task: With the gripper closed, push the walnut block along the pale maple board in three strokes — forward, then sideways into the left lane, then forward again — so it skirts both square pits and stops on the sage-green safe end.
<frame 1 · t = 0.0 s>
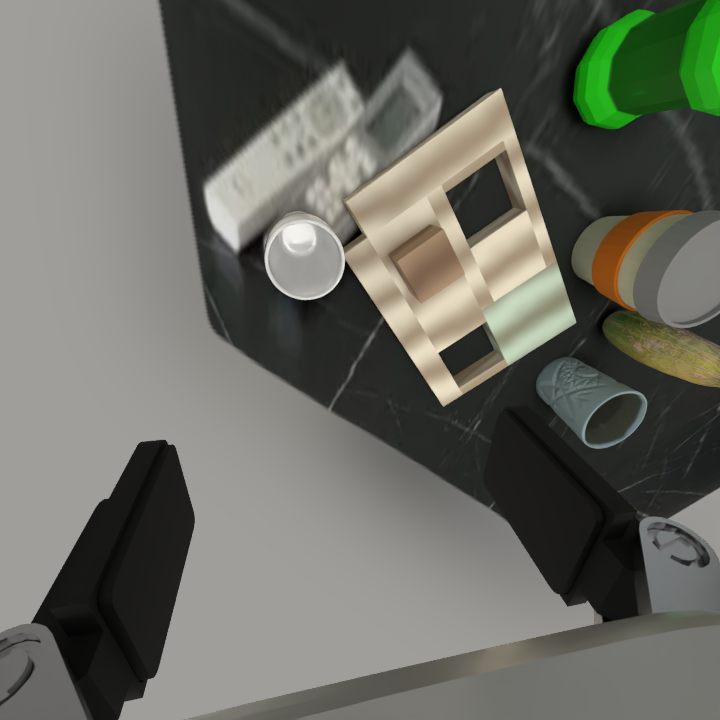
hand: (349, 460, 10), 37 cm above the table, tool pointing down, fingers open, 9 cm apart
vegetable: (603, 319, 57), on the table
block: (420, 260, 43), point 3 cm above the table, touching board
drinking glass: (557, 378, 61), on the table
board: (463, 286, 49), on the table
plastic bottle: (594, 82, 41), on the table
drinking glass 2: (298, 234, 42), on the table
reusable coffee cup: (599, 249, 51), on the table
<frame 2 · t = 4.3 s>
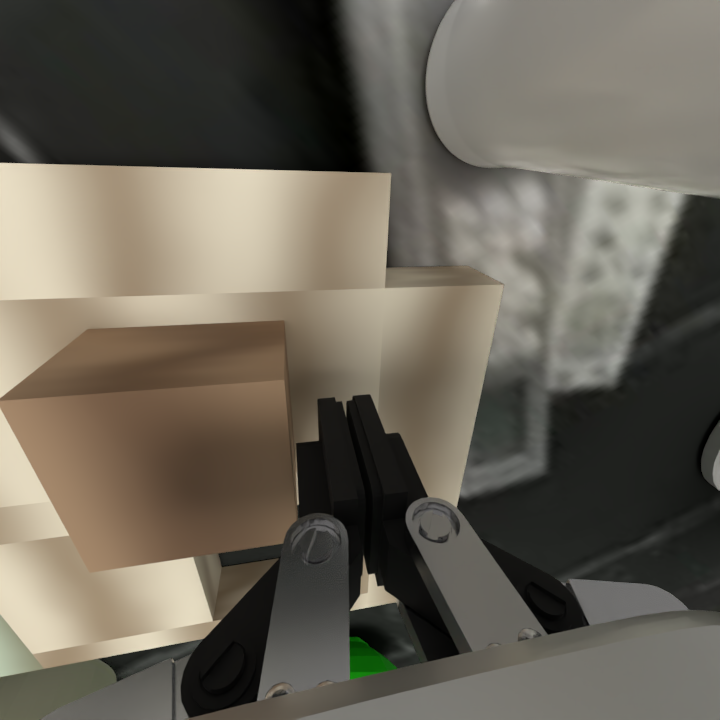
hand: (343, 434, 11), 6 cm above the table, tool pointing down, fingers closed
block: (206, 401, 13), point 3 cm above the table, touching board, gripper
board: (59, 451, 16), on the table
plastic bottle: (336, 651, 29), on the table
drinking glass 2: (488, 83, 13), on the table
reusable coffee cup: (43, 682, 24), on the table
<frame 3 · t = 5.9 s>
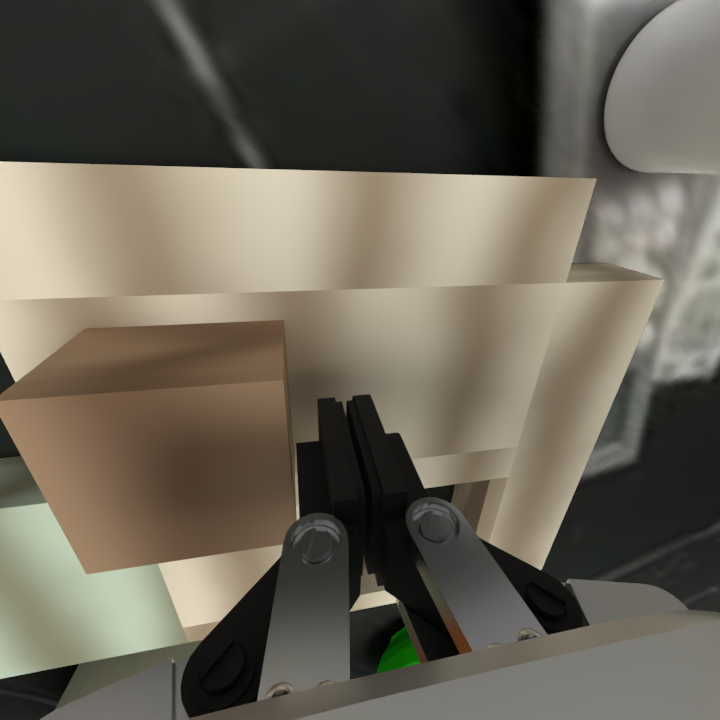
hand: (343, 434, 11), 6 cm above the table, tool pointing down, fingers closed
block: (205, 401, 13), point 3 cm above the table, touching board, gripper
board: (221, 436, 17), on the table
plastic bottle: (417, 634, 30), on the table
drinking glass 2: (653, 96, 14), on the table
reusable coffee cup: (153, 661, 25), on the table
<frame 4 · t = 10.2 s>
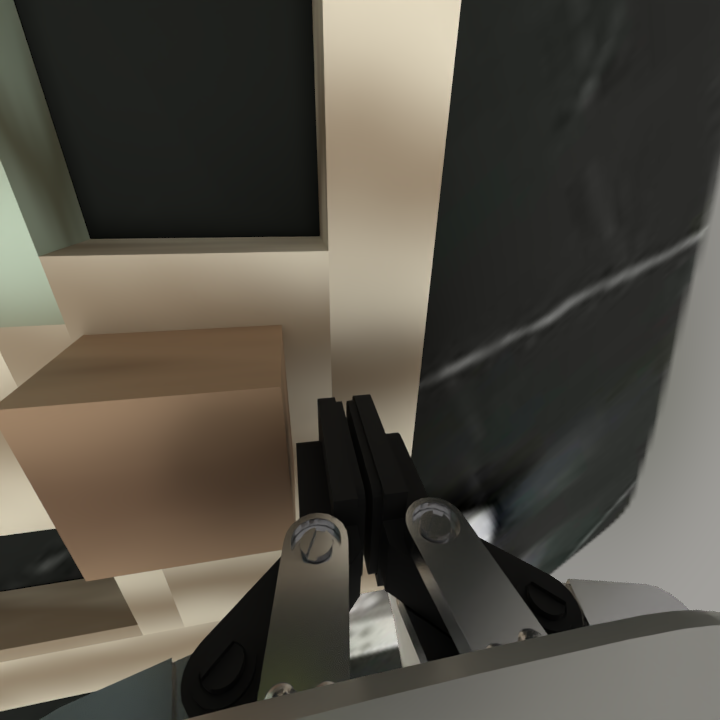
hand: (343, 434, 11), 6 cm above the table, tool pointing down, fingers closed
block: (204, 406, 13), point 3 cm above the table, touching board, gripper
board: (130, 365, 15), on the table
drinking glass 2: (419, 569, 26), on the table
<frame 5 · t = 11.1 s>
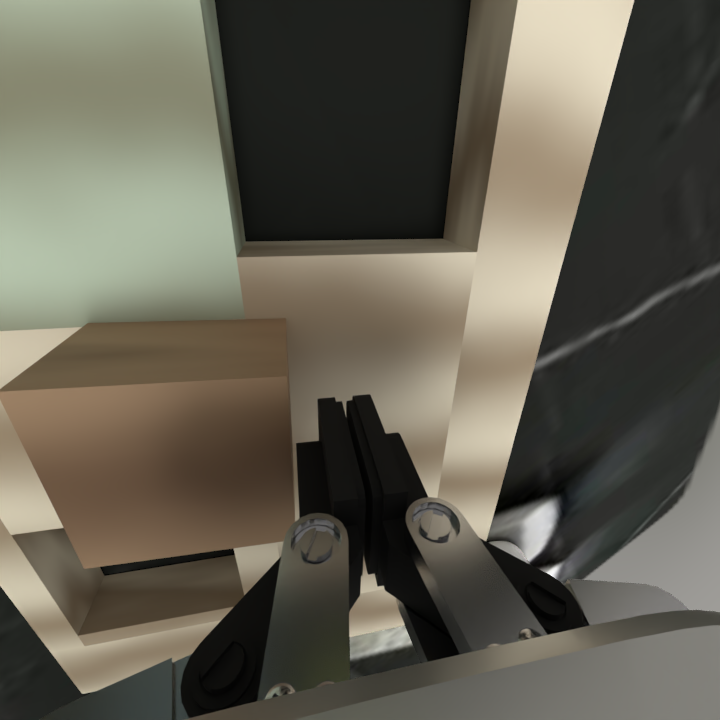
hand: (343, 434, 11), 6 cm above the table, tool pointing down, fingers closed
block: (205, 398, 13), point 3 cm above the table, touching board, gripper
board: (260, 358, 16), on the table
drinking glass 2: (484, 557, 27), on the table
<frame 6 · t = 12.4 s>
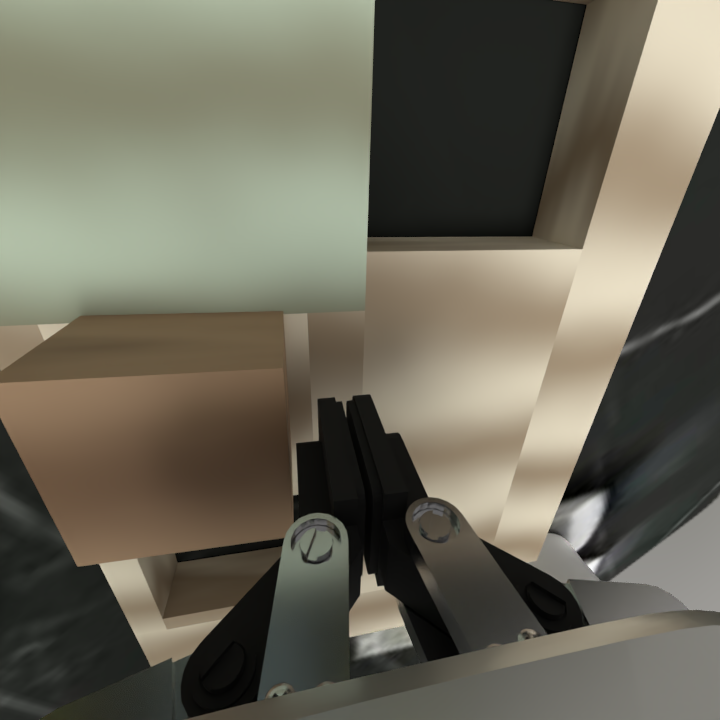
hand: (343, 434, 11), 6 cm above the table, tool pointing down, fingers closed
block: (202, 393, 13), point 3 cm above the table, touching board, gripper
board: (350, 350, 16), on the table
drinking glass 2: (530, 549, 28), on the table
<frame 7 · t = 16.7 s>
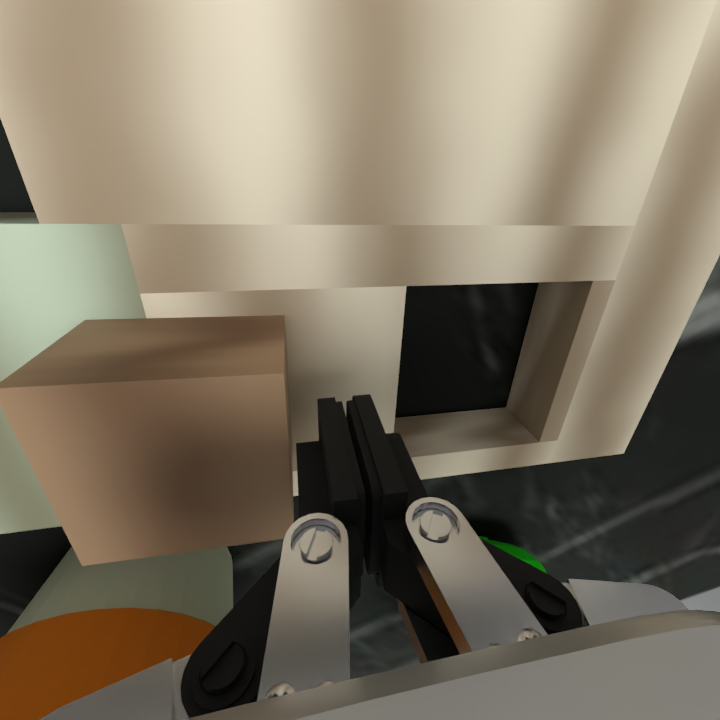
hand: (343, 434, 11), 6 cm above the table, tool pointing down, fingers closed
block: (204, 395, 13), point 3 cm above the table, touching board
board: (243, 214, 13), on the table
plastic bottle: (459, 556, 26), on the table
reusable coffee cup: (153, 567, 21), on the table
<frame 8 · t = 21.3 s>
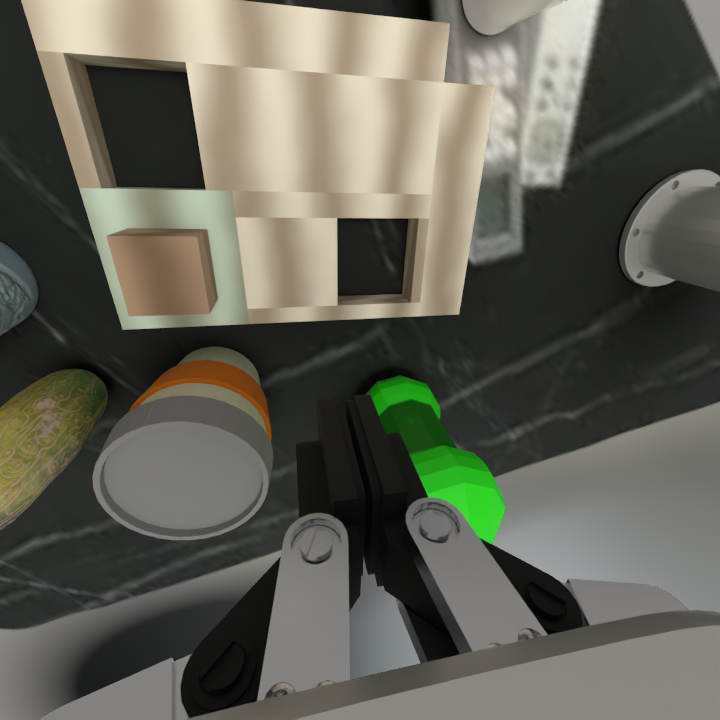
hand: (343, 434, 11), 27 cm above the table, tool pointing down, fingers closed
vegetable: (92, 374, 37), on the table
block: (175, 265, 30), point 3 cm above the table, touching board
board: (271, 189, 32), on the table
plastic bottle: (389, 397, 45), on the table
reusable coffee cup: (218, 381, 40), on the table
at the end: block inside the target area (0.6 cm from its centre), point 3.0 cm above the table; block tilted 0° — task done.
